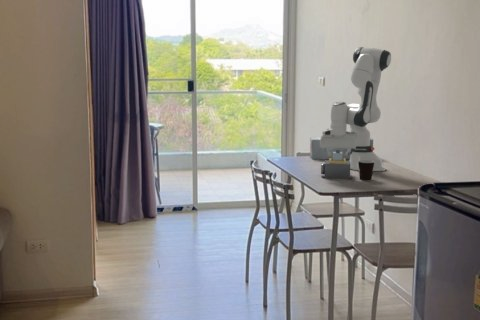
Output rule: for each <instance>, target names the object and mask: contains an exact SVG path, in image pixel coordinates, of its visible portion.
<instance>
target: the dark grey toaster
mask: <svg viewBox="0 0 480 320" xmlns="http://www.w3.org/2000/svg"><path fill="white" fill-rule="evenodd" d="M350 165H351V164H350V161H349V160H347V159H343V158H342V161H333V158H329V159H324V163H320V175H323V176H324V178H325V179H348V180H349V179H351V169H350Z"/></svg>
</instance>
